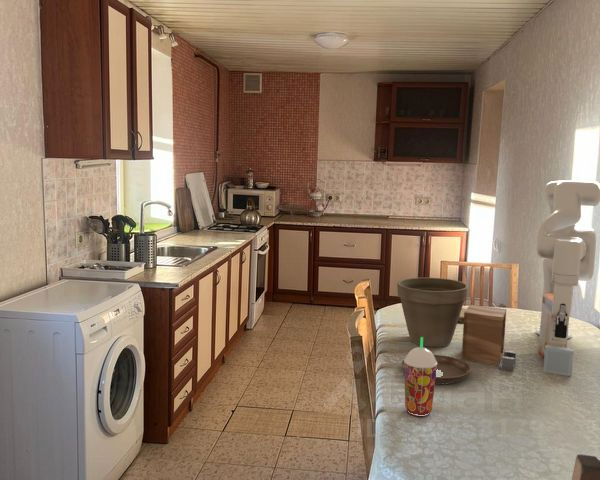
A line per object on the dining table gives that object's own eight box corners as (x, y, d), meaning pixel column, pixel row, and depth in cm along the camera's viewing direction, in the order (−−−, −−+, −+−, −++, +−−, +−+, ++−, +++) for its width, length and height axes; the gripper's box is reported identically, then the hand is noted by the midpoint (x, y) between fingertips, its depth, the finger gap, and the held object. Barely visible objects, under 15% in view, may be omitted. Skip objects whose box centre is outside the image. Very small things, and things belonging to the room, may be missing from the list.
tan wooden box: (467, 349, 198) (469, 304, 196) (503, 354, 193) (506, 309, 191) (461, 359, 187) (464, 312, 185) (499, 365, 182) (502, 317, 180)
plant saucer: (394, 381, 167) (395, 370, 167) (407, 359, 186) (408, 350, 186) (466, 392, 160) (467, 381, 159) (472, 369, 179) (473, 359, 179)
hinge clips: (501, 361, 186) (502, 350, 185) (515, 363, 184) (516, 352, 183) (498, 369, 178) (499, 357, 178) (513, 371, 177) (514, 359, 176)
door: (543, 369, 180) (545, 344, 179) (571, 373, 176) (573, 348, 175) (543, 372, 177) (545, 347, 176) (571, 376, 174) (573, 351, 173)
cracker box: (566, 365, 183) (571, 302, 181) (546, 363, 185) (551, 301, 182) (555, 352, 197) (560, 293, 194) (537, 350, 198) (542, 292, 196)
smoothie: (398, 405, 149) (401, 332, 147) (428, 405, 150) (432, 332, 147) (406, 419, 141) (410, 342, 138) (439, 419, 142) (443, 342, 139)
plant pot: (388, 346, 200) (390, 286, 197) (402, 328, 223) (404, 274, 220) (460, 356, 191) (464, 293, 188) (468, 336, 213) (471, 280, 211)
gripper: (552, 274, 182) (548, 326, 184) (550, 282, 167) (546, 338, 168) (577, 276, 179) (573, 329, 181) (578, 285, 164) (574, 342, 165)
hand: (560, 333), depth 175 cm, fingers open, 9 cm apart
